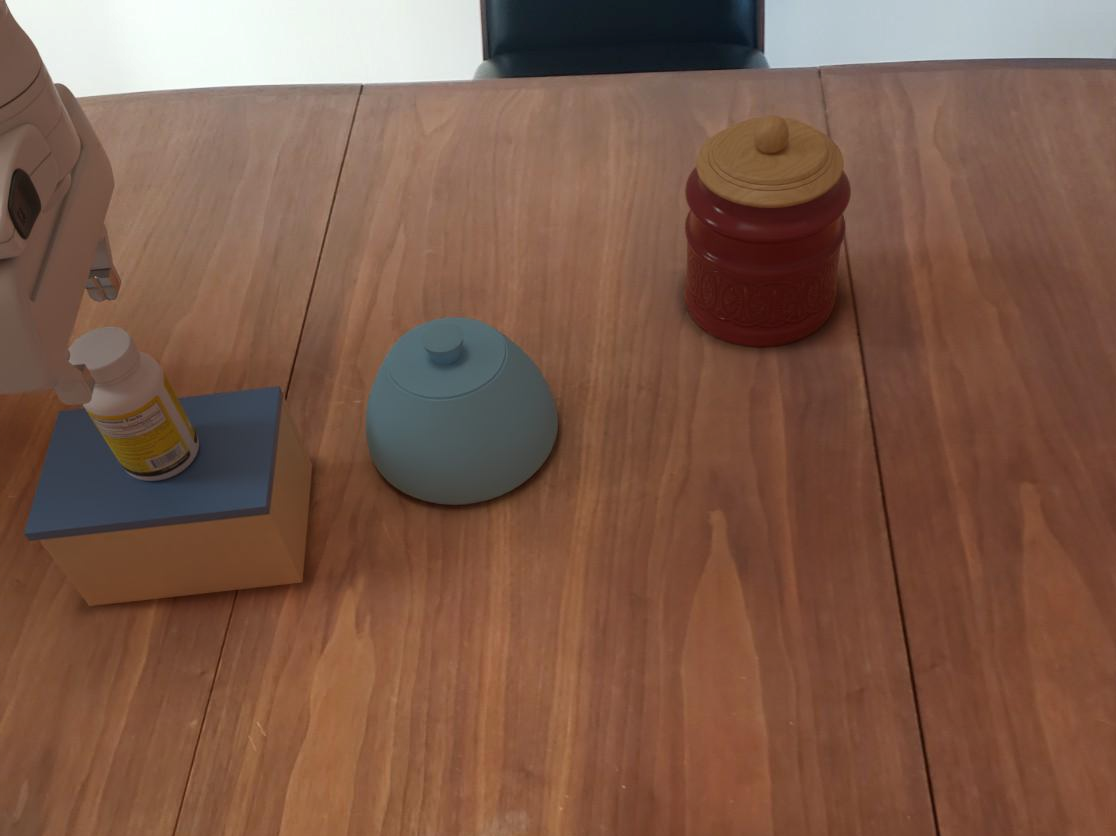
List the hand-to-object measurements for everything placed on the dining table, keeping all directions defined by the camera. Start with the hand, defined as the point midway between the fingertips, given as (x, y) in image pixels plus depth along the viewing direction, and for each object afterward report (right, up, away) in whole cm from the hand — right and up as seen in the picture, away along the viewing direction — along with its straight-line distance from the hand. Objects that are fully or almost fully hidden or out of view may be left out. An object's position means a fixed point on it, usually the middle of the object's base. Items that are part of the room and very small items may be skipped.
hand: (95, 342), depth 67 cm
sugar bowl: (+21, -4, +20) cm, 29 cm away
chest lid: (+1, -6, +9) cm, 11 cm away
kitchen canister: (+45, +10, +28) cm, 54 cm away
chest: (+1, -11, +16) cm, 20 cm away
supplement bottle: (+1, -6, +8) cm, 10 cm away
